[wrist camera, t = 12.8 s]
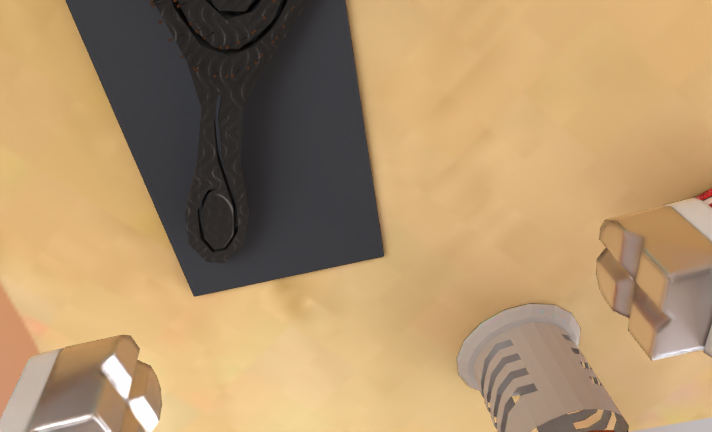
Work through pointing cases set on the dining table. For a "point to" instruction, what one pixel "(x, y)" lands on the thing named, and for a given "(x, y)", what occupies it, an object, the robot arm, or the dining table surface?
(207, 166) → the hairbrush
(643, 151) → the dining table surface
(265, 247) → the placemat
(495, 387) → the french press
